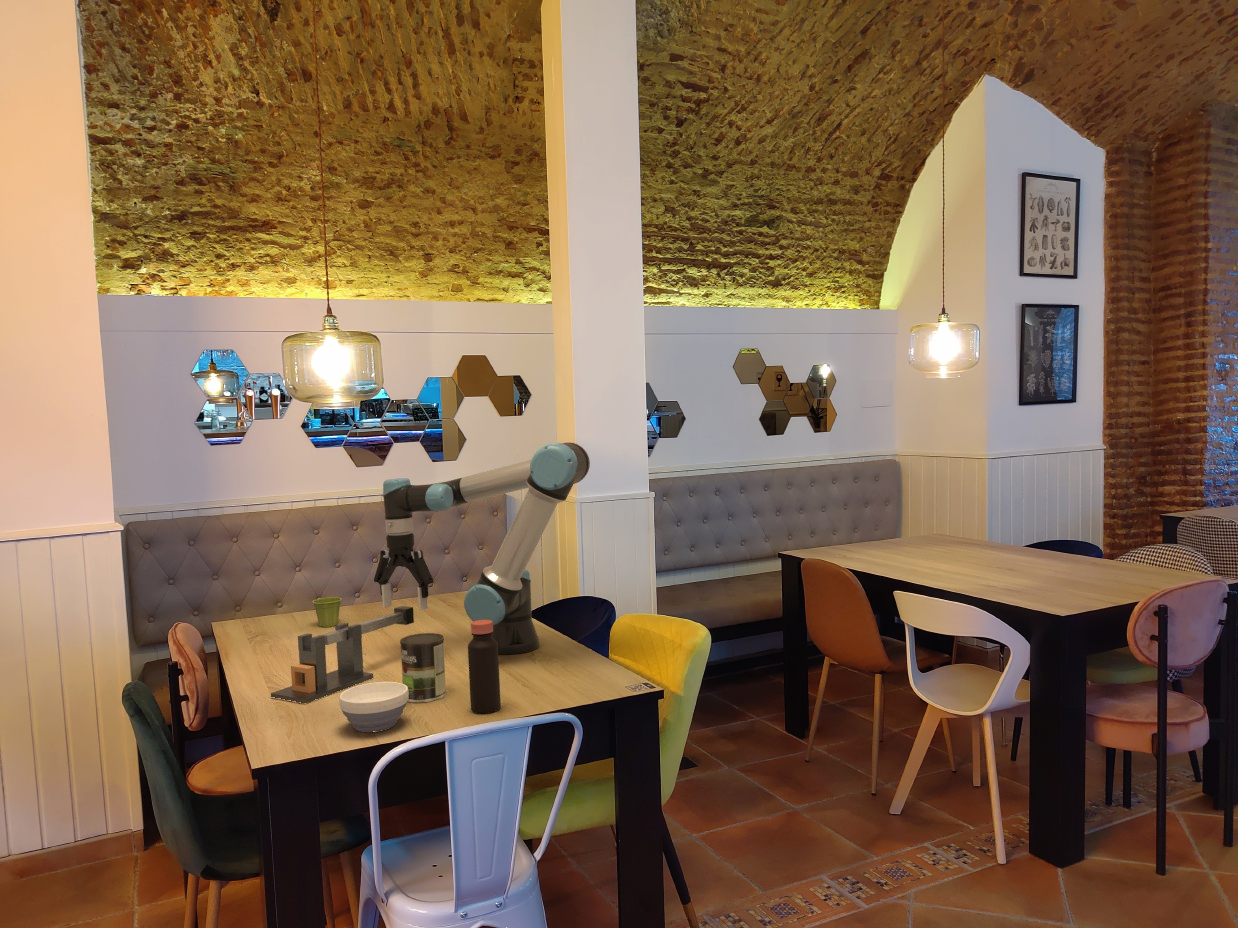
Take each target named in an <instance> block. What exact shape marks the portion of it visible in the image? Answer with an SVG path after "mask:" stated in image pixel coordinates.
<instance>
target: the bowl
mask: <svg viewBox="0 0 1238 928" xmlns="http://www.w3.org/2000/svg"><path fill="white" fill-rule="evenodd" d="M408 699H409V691H408V687H407V686H406V685H404V684H403V682H395V681H377V682H375V681H374V682H369V683H363V684H358V685H354V686H352V687H349V688H346V689H344V690H343V692H341V693H340V695H339V701H338V702H339V709H340V710H341V713H342V714H343V715H344V717H346V719H347V721H348V722H349V724H351V725H353V728H354V729H355V731H357V730H358V731H357V732H360V731H362V732H361V733H365V732H373V731H380V732H382V731H381V730H384V731H386V730H385V729H387V730H389V729H392V728H393V727H395V726H396V725H397V723H398V721H399V720H398V719H399V718H401V716H402V714H403V712H404V710H405V708H406V707H407V704H408V702H407V701H408ZM388 728H389V729H388ZM373 733H374V732H373Z"/></svg>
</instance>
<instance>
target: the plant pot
mask: <svg viewBox="0 0 1238 928" xmlns="http://www.w3.org/2000/svg"><path fill="white" fill-rule="evenodd" d="M342 601H343V599H342V598H341V597H336V596H334V597H322V598H317V599H314V600H312V604H313V607H314V608H315V613H316V618H317V623H318V626H319V628H332V627H335V625H338V624H339V617H340V608H341V607H340V606H341V603H342Z"/></svg>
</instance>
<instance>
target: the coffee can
mask: <svg viewBox="0 0 1238 928" xmlns="http://www.w3.org/2000/svg"><path fill="white" fill-rule="evenodd" d="M444 641H445V637H444V635H443V634H440V633H433V632H431V633H430V632H424V633H423V632H422V633H415V634H411V635H407V636H405V637H402V638H401V639H400V640H399V642H400V653H401V654H400V656H401V657H400V658H401V674H402V675H401V676H402V680H401V681H402V682H401V683H402V684H404V685H406V686H407V687H408V691H409V699H408V701H407V703H412V704H413V703H417V704H418V703H430V702H435V701H437V700H441V699H442V698H444V697H445V696H446V695H447V691H446V690H447V689H446V670H445V647H444V644H445V643H444Z"/></svg>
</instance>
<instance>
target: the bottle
mask: <svg viewBox="0 0 1238 928" xmlns="http://www.w3.org/2000/svg"><path fill="white" fill-rule="evenodd" d="M470 632H471V636H472V639H471V640H470V641H469V643H468V644H467V656H468V657H467V659H468V674H469V675H468V679H469V697H470V698H469V700H470V701H469V702H470V710H471V712H472V713H474V714H479V715H482V714H483V715H486V714H492V713H495V712H497V711H499V710H500V709H501V707H502V703H501V683H500V680H501V679H500V664H499V654H498V643H497V641H496V640H495V639H494V638H492V634H493V622H492V621H491V620H478V621H474V622H473V621H472V622H470Z"/></svg>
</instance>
